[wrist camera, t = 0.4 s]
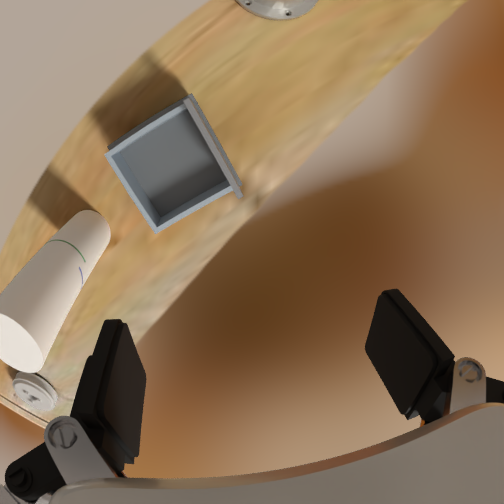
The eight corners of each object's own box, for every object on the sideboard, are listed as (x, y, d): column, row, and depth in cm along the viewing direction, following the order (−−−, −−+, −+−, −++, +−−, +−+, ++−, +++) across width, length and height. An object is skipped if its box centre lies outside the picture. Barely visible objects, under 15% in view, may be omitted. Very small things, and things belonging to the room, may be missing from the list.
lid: (67, 397, 57) (63, 412, 52) (39, 402, 57) (35, 415, 53) (34, 365, 51) (27, 380, 47) (9, 371, 51) (2, 385, 47)
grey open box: (193, 95, 34) (188, 87, 24) (238, 177, 40) (251, 201, 30) (117, 142, 35) (84, 155, 25) (164, 218, 41) (151, 256, 31)
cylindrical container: (74, 253, 41) (1, 367, 19) (66, 211, 38) (-30, 309, 16) (113, 252, 42) (54, 377, 20) (107, 208, 39) (24, 314, 17)
